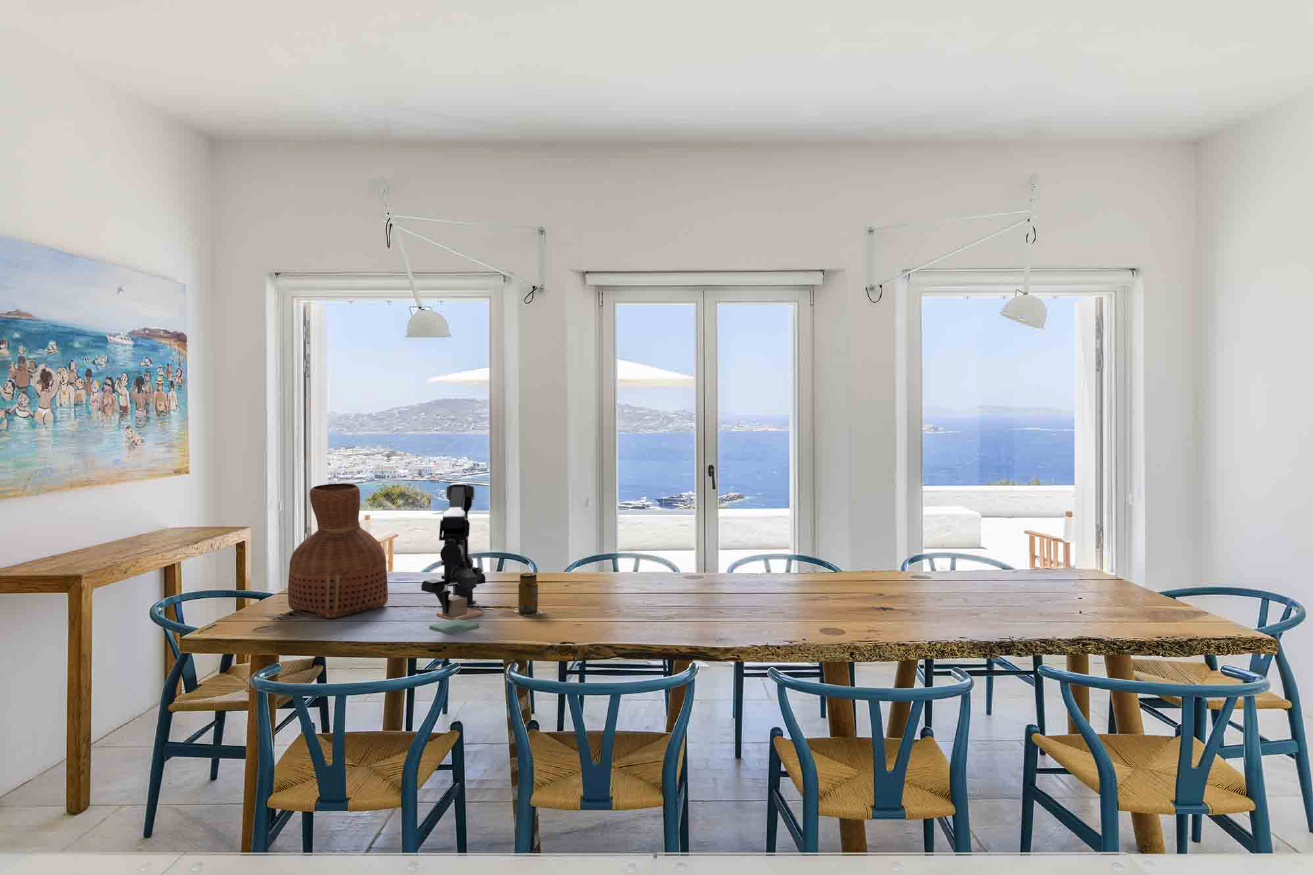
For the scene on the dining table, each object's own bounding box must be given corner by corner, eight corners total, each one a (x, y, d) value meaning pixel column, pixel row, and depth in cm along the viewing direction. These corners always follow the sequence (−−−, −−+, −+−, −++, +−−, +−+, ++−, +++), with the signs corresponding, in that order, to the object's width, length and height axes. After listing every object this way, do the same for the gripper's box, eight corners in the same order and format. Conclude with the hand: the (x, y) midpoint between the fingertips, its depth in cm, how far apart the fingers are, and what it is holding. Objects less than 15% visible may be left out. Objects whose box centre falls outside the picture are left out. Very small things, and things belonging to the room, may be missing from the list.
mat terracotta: (436, 615, 236) (436, 612, 236) (463, 609, 244) (463, 606, 244) (456, 620, 230) (456, 618, 230) (482, 614, 238) (482, 611, 238)
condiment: (532, 608, 246) (532, 571, 246) (546, 613, 239) (546, 575, 239) (512, 611, 241) (512, 574, 241) (525, 617, 235) (525, 578, 235)
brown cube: (442, 615, 222) (442, 598, 222) (456, 611, 226) (456, 595, 225) (452, 617, 219) (452, 600, 218) (467, 614, 222) (466, 597, 222)
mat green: (429, 628, 221) (429, 625, 221) (458, 621, 229) (458, 618, 229) (450, 634, 215) (450, 631, 215) (479, 627, 223) (479, 624, 223)
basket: (271, 613, 238) (270, 485, 238) (344, 595, 263) (343, 480, 262) (333, 624, 225) (332, 489, 225) (403, 605, 250) (403, 483, 249)
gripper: (443, 566, 209) (443, 622, 210) (497, 556, 224) (497, 609, 224) (420, 561, 216) (420, 615, 217) (473, 552, 231) (473, 603, 231)
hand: (454, 611), depth 222 cm, fingers closed on brown cube, 5 cm apart
